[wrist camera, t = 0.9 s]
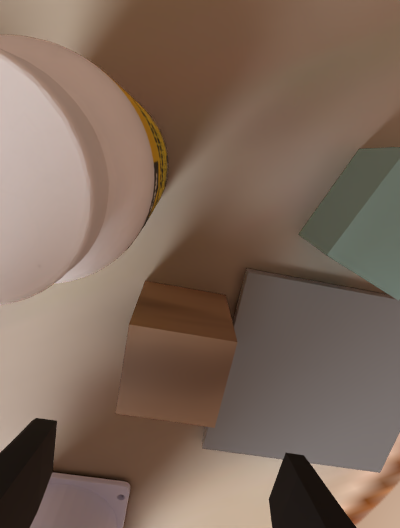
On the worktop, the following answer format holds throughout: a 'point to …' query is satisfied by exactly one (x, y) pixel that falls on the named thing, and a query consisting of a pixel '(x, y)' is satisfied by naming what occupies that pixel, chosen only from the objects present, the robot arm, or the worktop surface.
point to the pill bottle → (69, 167)
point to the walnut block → (177, 355)
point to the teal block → (363, 219)
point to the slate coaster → (311, 374)
